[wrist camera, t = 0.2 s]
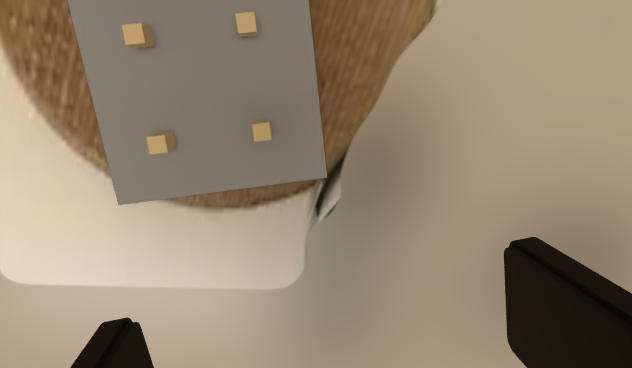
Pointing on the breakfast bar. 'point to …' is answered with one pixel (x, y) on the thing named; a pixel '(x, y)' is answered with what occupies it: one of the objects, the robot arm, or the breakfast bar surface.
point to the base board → (202, 93)
